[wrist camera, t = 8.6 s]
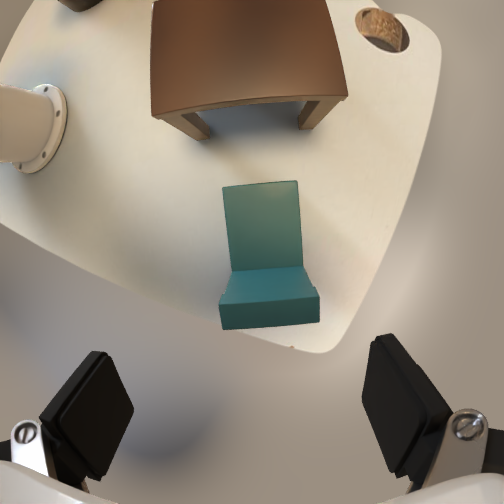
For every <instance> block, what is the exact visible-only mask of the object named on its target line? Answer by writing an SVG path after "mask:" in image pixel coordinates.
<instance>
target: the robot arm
mask: <svg viewBox="0 0 504 504" xmlns="http://www.w3.org/2000/svg"><path fill="white" fill-rule="evenodd" d="M66 115H67V108H66V101H65V97H64V95H63V93H62V91H61V90H60V89H59V88H57V87H55V86H53V85H50V84H43V85H40V86H38V87H36V88H34V89H33V90H32V91H29V90H25V89H22V88H18V87H14V86H10V85H6V84H2V83H0V162H12V164H13V165H14V167H15V168H16V169H17V170H18V171H20V172H22V173H34V172H36V171H38V170H40V169H41V168H43V167H44V166H45V165H46V164H47V163H48V162H49V161H50V159H51V158H52V157H53V155H54V154H55V152H56V150H57V148H58V146H59V144H60V141H61V139H62V136H63V132H64V129H65V123H66ZM362 403H363V406H364V408H365V411H366V413H367V416H368V418H369V421H370V423H371V426H372V428H373V430H374V433H375V436H376V438H377V441H378V443H379V446H380V448H381V451H382V454H383V456H384V459H385V462H386V464H387V467H388V469H389V471H390V472H391V473H395V475H396V478H400V477H403V476H406V475H408V477H409V479H410V481H411V483H410V485H409V488H408V490H407V492H406V494H405V495H402V496H399V497H396V498H394V499H390V500H387V501H384V502H381V503H377V504H504V431H503V430H497V429H491V428H488V422H487V419H486V417H485V416H484V415H483V414H482V413H480V412H479V411H477V410H474V409H462V410H459V411H457V412H455V413H453V412H452V410H451V409H450V407H449V406H448V404H447V403H446V401H445V400H444V399H443V397H442V396H441V394H440V393H439V392H438V391H437V389H436V387H435V386H434V385H433V384H432V382H431V381H430V379H429V378H428V377H427V375H426V374H425V373H424V371H423V370H422V369H421V367H420V366H419V365H418V364H416V363H415V362H414V360H413V359H412V358H411V356H410V355H409V354H408V353H407V351H406V350H405V348H404V347H403V346H402V345H401V343H400V342H399V341H398V340H397V338H396V337H395V336H394V335H393V334H392V333H390V334H385V335H380V336H377V337H376V338H375V341H372V342H371V345H370V351H369V358H368V365H367V370H366V376H365V382H364V387H363V392H362ZM133 413H134V407H133V405H132V402H131V400H130V398H129V396H128V394H127V392H126V390H125V388H124V386H123V383H122V381H121V379H120V377H119V374H118V372H117V370H116V367H115V365H114V362H113V360H112V358H111V357H110V356H108V354H107V353H106V352H100V351H92V352H90V353H89V355H88V356H87V357H86V358H85V359H84V361H83V362H82V363H81V364H80V365H79V367H78V368H77V369H76V370H75V371H74V373H73V374H72V375H71V376H70V378H69V379H68V380H67V381H66V383H65V384H64V385H63V386H62V388H61V389H60V390H59V392H58V393H57V394H56V395H55V397H54V398H53V399H52V400H51V402H50V403H49V404H48V406H47V407H46V408H45V410H44V411H43V412H42V414H41V415H40V416H39V419H40V420H41V422H42V425H41V426H40V425H39V424H38V422H36V421H34V420H31V419H27V420H23V421H21V422H19V423H18V424H16V425H15V427H14V428H13V430H12V432H11V439H10V440H7V441H3V442H0V504H119V503H116V502H112V501H109V500H106V499H103V498H100V497H97V496H94V495H92V494H90V493H89V490H88V488H87V485H86V482H85V477H86V476H87V477H88V478H91V479H93V480H97V481H101V478H102V476H104V475H106V473H107V471H108V469H109V466H110V464H111V462H112V459H113V457H114V455H115V452H116V450H117V448H118V446H119V443H120V442H121V439H122V437H123V435H124V433H125V431H126V428H127V426H128V424H129V422H130V420H131V417H132V415H133Z"/></svg>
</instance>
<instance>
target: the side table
mask: <svg viewBox="0 0 504 504" xmlns="http://www.w3.org/2000/svg"><path fill="white" fill-rule="evenodd" d="M150 87H151V115H152V116H153V117H154V118H156V119H158V120H159V119H162V120H164V121H165V122H167V123H169V124H170V125H172V126H174V127H175V128H177V129H179V130H180V131H182V132H184V133H185V134H187V135H189V136H190V137H192V138H193V139H195V140H197V141H198V140H205V139H210V133H209V126H208V125H207V124H206V123H205V122H204V121H203V120H202V119H201V118H200V117H199V116H198V115H197V114H196V113H195V112H198V111H204V110H210V109H217V108H224V107H232V106H240V105H249V104H259V103H271V102H288V101H307V102H306V104H305V105H304V107H303V109H302V111H301V113H300V114H299V116H298V122H299V130H309V129H313V128H314V127H315V126H316V125H317V124H318V123H319V122H320V121H321V120H322V119H323V118H324V117H325V116H326V115H327V114H328V113H329V112H330V111H331V110H332V109H333V108H334V107H335V106H336V105H337V104H338V103H339V102H340V101H344V100H345V99H346V98H347V97H348V91H347V85H346V80H345V75H344V70H343V65H342V61H341V56H340V52H339V48H338V43H337V39H336V36H335V32H334V28H333V24H332V21H331V17H330V14H329V10H328V7H327V4H326V1H325V0H158V1H155V2H153V4H152V20H151V45H150Z"/></svg>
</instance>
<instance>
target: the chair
mask: <svg viewBox="0 0 504 504" xmlns="http://www.w3.org/2000/svg"><path fill="white" fill-rule="evenodd" d="M222 191H223V200H224V209H225V218H226V227H227V235H228V244H229V252H230V260H231V268H232V273H231V276H230V279H229V282H228V285H227V288H226V291H225V294H222V296H221V299H220V302H219V311H220V317H221V323H222V329H223V330H232V329H250V328H264V327H277V326H288V325H299V324H308V323H317V322H320V296H319V294H318V292H317V290H316V288H315V287H313V286H312V284H311V281H310V279H309V277H308V275H307V273H306V271H305V269H304V266H303V253H302V236H301V221H300V207H299V194H298V183H297V181H296V180H295V181H281V182H269V183H258V184H248V185H238V186H229V187H223V188H222Z"/></svg>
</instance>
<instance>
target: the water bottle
mask: <svg viewBox="0 0 504 504" xmlns="http://www.w3.org/2000/svg"><path fill="white" fill-rule="evenodd" d="M58 1H59V2H61V3H62V4H64V5H66V6H67V7H69V8H70V9H72V10H73V11H75V12H81V11H85V10H87V9H89V8H91V7H93V6H95V5H96V4H98V3H99V2H101V1H102V0H58Z"/></svg>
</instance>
